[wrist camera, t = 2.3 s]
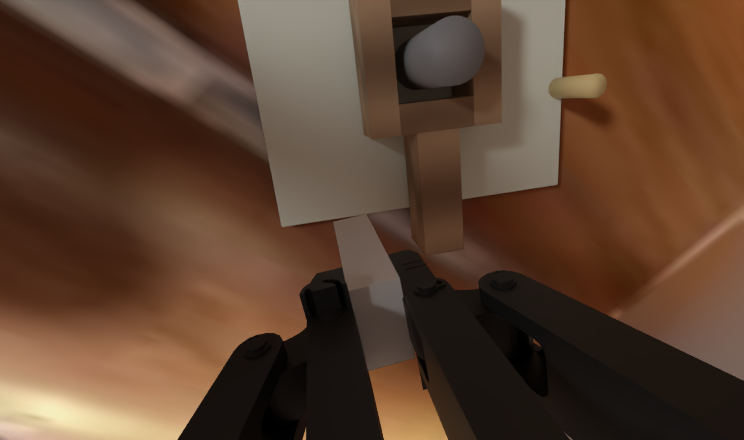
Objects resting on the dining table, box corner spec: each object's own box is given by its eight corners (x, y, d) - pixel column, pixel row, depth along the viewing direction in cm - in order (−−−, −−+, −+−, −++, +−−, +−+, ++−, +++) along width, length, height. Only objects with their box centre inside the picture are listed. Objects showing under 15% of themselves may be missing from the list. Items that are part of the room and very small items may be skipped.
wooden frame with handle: (348, -1, 26) (355, -18, 23) (474, -11, 28) (501, -29, 24) (376, 243, 32) (385, 262, 28) (480, 226, 33) (502, 242, 29)
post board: (282, 222, 32) (273, 266, 23) (221, -95, 25) (177, -197, 16) (553, 181, 35) (634, 206, 26) (565, -113, 28) (678, -207, 19)
